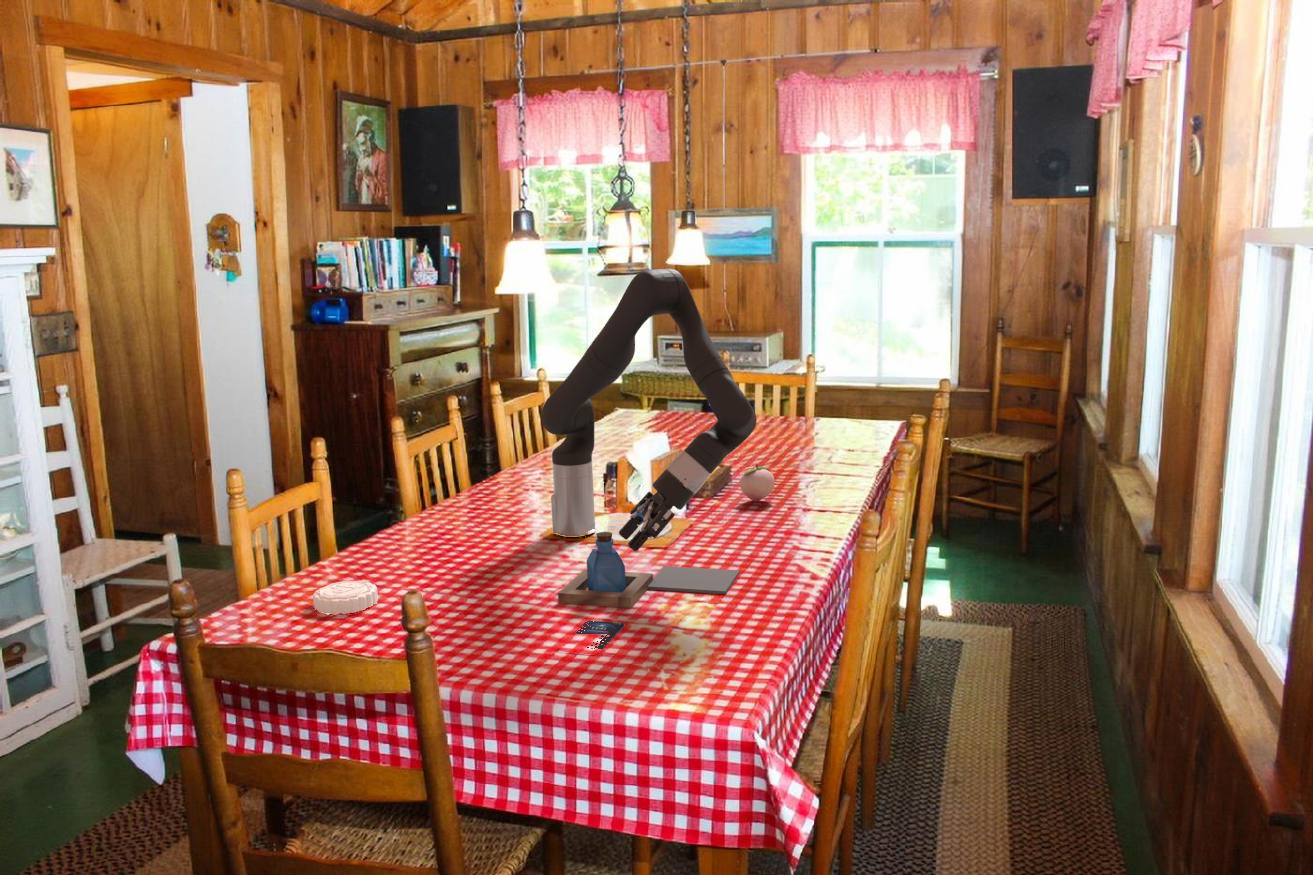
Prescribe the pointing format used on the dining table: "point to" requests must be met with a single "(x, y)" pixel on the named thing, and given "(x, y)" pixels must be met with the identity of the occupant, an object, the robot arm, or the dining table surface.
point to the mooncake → (345, 597)
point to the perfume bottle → (605, 566)
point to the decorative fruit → (757, 483)
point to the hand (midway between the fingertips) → (626, 542)
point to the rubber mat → (694, 580)
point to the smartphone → (601, 630)
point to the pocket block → (579, 594)
